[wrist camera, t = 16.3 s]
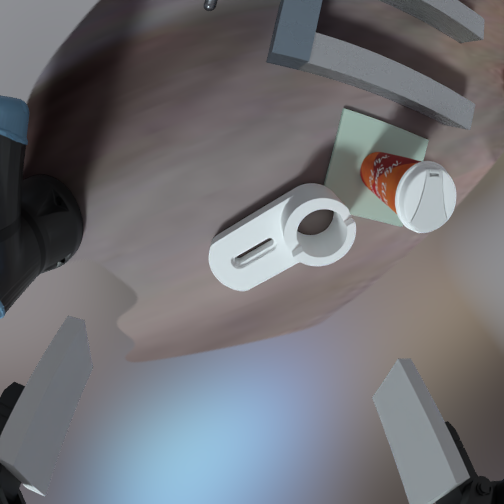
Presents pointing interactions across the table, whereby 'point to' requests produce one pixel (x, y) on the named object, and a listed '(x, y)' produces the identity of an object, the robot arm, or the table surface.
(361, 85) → the vise
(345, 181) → the mat
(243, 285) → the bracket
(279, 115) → the table surface
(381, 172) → the paper cup
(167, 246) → the table surface
